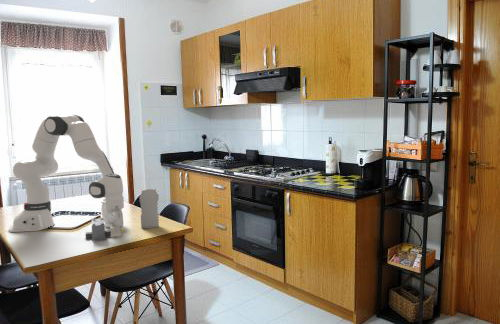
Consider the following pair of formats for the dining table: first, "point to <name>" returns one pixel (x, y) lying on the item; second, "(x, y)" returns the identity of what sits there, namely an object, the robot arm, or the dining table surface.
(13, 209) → the dining table surface
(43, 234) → the dining table surface
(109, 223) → the jar
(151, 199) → the tall pale column
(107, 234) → the plug
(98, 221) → the block
